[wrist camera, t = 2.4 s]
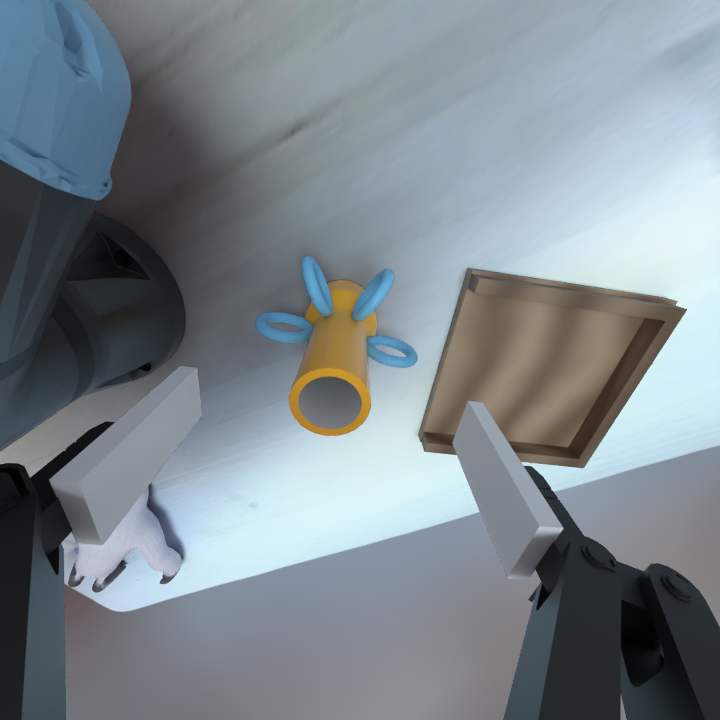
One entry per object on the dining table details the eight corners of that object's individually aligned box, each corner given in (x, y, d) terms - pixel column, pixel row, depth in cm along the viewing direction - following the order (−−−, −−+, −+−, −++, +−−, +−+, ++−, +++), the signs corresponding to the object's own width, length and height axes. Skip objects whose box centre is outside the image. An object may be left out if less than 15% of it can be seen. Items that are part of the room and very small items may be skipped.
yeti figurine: (168, 565, 49) (230, 504, 43) (146, 616, 44) (213, 555, 37) (28, 526, 42) (76, 444, 35) (-20, 580, 36) (25, 495, 29)
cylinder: (261, 266, 26) (163, 326, 13) (374, 223, 25) (396, 241, 11) (316, 380, 32) (286, 507, 18) (412, 350, 30) (457, 463, 17)
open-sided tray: (418, 434, 35) (423, 453, 32) (467, 267, 26) (480, 274, 24) (572, 451, 36) (589, 470, 34) (665, 297, 28) (698, 307, 25)
